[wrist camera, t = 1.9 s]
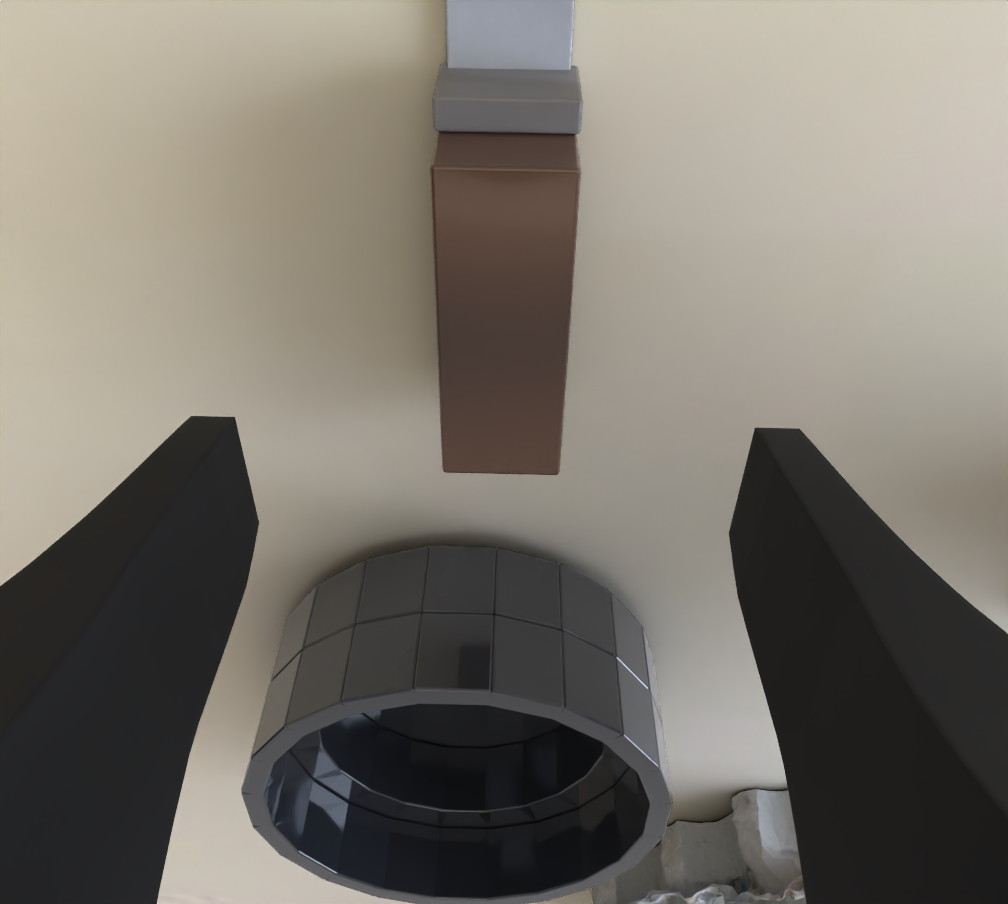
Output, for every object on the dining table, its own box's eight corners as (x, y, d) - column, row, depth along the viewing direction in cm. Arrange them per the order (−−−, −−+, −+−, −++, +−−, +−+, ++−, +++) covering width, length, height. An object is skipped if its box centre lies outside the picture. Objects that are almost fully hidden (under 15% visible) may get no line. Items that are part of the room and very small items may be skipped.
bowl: (674, 536, 24) (701, 696, 20) (630, 763, 31) (644, 912, 27) (254, 526, 24) (203, 684, 20) (308, 755, 31) (277, 902, 27)
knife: (557, 384, 21) (561, 476, 18) (450, 382, 21) (439, 473, 18) (629, -745, 10) (662, -881, 8) (414, -749, 10) (379, -885, 8)
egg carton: (790, 764, 31) (821, 883, 28) (894, 844, 35) (932, 958, 31) (557, 861, 36) (560, 972, 33) (669, 922, 39) (682, 1028, 36)
